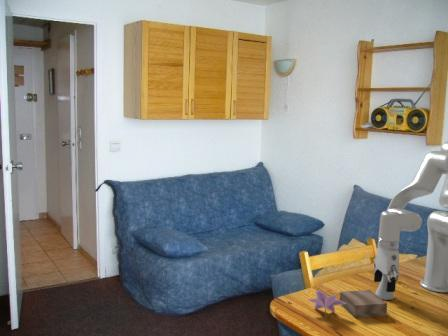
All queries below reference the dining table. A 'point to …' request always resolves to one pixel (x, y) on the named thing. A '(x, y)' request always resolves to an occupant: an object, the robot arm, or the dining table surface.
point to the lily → (326, 301)
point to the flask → (384, 289)
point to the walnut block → (363, 304)
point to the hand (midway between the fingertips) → (384, 286)
